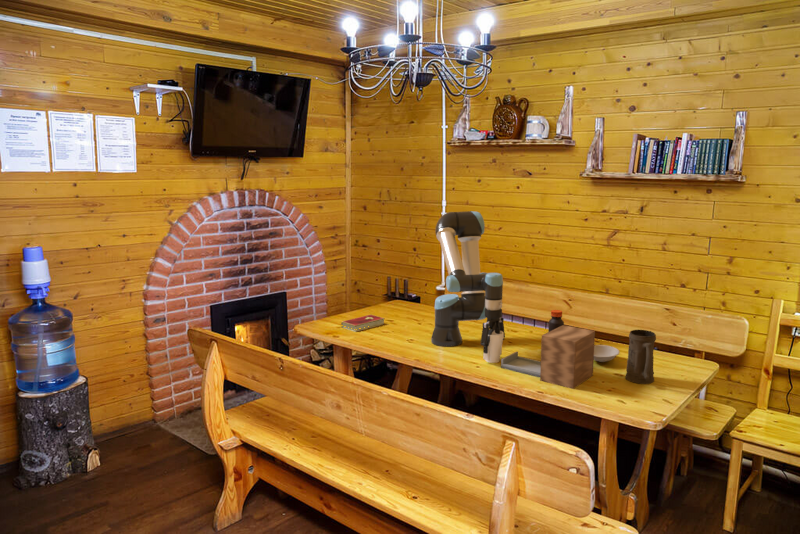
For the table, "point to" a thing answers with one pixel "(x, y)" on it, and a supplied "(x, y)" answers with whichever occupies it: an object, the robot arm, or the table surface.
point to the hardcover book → (363, 323)
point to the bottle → (555, 320)
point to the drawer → (521, 364)
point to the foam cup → (495, 346)
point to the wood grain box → (567, 356)
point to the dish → (604, 353)
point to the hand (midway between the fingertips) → (492, 356)
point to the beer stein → (640, 357)
